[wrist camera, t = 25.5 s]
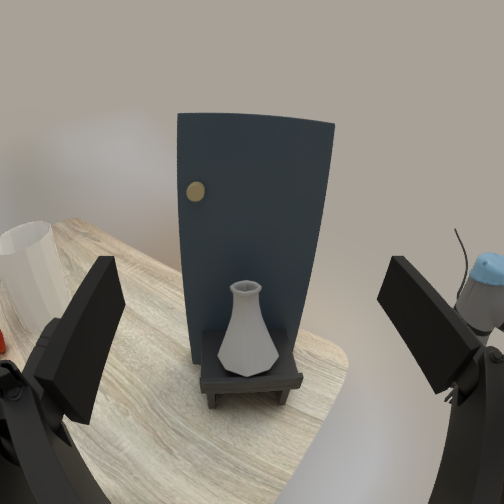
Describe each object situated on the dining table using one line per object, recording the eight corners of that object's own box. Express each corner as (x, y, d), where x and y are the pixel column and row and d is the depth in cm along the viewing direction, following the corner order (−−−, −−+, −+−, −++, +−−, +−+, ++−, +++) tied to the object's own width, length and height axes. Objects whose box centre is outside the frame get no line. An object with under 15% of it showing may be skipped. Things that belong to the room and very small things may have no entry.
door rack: (303, 411, 34) (387, 134, 17) (191, 417, 32) (152, 115, 15) (286, 345, 46) (323, 121, 28) (193, 348, 44) (182, 113, 26)
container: (61, 284, 54) (42, 215, 45) (83, 312, 47) (59, 233, 38) (15, 308, 44) (-11, 239, 35) (29, 344, 37) (-8, 265, 28)
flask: (246, 386, 27) (242, 308, 25) (207, 357, 33) (199, 285, 30) (289, 357, 32) (293, 285, 29) (249, 335, 37) (247, 269, 34)
